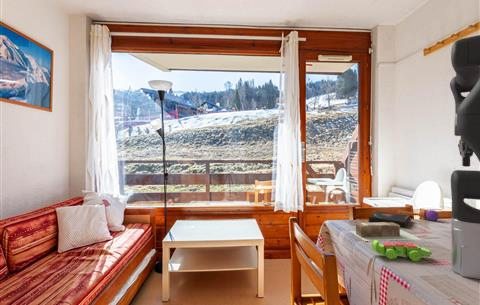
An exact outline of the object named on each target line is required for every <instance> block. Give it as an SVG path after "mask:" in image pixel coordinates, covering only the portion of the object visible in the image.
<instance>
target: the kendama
mask: <svg viewBox="0 0 480 305" xmlns="http://www.w3.org/2000/svg"><path fill="white" fill-rule="evenodd" d="M396 214H402V215H409V216H418V217H421V218H423V219H425V220H428V221H430V222H437V220H439V218H440V214H439V213H438V212H437V211H436V210H433V209H430V210H427V211H425V210H424V211H422V212H418V213H417V212H412V211H406V210H400V209H397V213H396Z"/></svg>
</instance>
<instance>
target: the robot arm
mask: <svg viewBox="0 0 480 305" xmlns="http://www.w3.org/2000/svg"><path fill="white" fill-rule="evenodd" d="M450 50H451V51H450V52H451V53H450V60H451V61H450V62H451V66H452V69H453V70H454V72H455V76H453V77H452V78H451V79H450V82H449V88H450V90H451V93H452V95H453V99H454V104H455V106H454V108H455V110H454V113H455V114H454V130H453V131H454V134H453V135H454V136H455V137H460V139H459V140H458V144H457V147H458V151H459V155H460V156H461V160H462V161H461V165H462V167H466V168H467V167H471V158H472V156H473V155H475V156H476V158H477V160H478V162H479V163H480V34H478V35H473V36H469V37H464V38H460V39H458V40H455V41H454V43H452V46H451V49H450ZM462 93H468V94H467V95H466V96H464V95H463V94H462ZM450 192H451V193H450V194H451V230H450V231H451V233H450V234H451V239H450V241H451V242H450V243H451V249H450V250H451V253H450V254H451V258H450V260H451V262H450V263H451V265H450V266H451V270H452V271H453V272H454V273H456V274H458V275H460V276H462V277H464V278H471V279H478V280H480V209H479V208H476V207H473V206H471V205H469V204H468V203H467V202H465V199H466V200H480V170H470V169H469V170H468V169H467V170H465V169H463V170H462V169H457V170H453V171H452V173H451V175H450Z"/></svg>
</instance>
